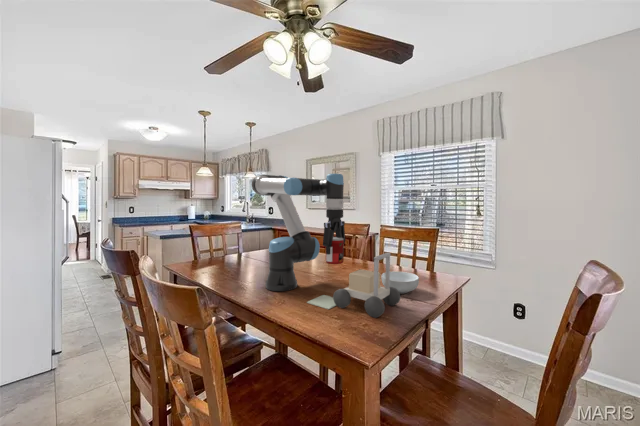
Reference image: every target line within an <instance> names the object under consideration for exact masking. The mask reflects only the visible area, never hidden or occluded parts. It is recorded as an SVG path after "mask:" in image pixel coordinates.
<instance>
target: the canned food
mask: <svg viewBox="0 0 640 426" xmlns="http://www.w3.org/2000/svg"><path fill="white" fill-rule="evenodd" d="M344 245H345V244H344V239H343V238H340V237H336V236H333V240H332V245H331V247H332V262H328V261H326V260H325V262H326V264H328V265H340V264H343V263H344Z"/></svg>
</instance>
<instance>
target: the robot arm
mask: <svg viewBox="0 0 640 426" xmlns="http://www.w3.org/2000/svg"><path fill="white" fill-rule="evenodd" d="M344 181H345V180H344V175H343V174H342V173H328V174H326V178H325V179H324V178H323V179H322V178H321V179H319V178H317V179H315V178H302V177H288V176H284V175H273V174H259V175H256V176H255V177H254V178H253V179H252V181H251V189H252V191H253V193H255V194H257V195H259V196H269V197H270V198H271V199H272V200H271V201H272V202H274V203H276V205H277V208H278V210H279V212H280V213H279V214H281V217H282V219H283V223H284V225H285V227H286V230H287V232H288V234H289V236H281V237H277V238H273V239H271V240H270V241H269V247H268V258H269V259H268V269H269V270H268V274H267V278H266V281H265V288H266V289H267V290H269V291H273V292H288V291H293V290H294V289H296V288H298V281H297V278H296V274H295V271H294V269H295V268H294V266H295V265H294V264H296V263H301V262H302V263H303V262H310V261H312V260H315V259H317V258H318V256H319V253H320V249H321V248H320V247H321V246H320V242H319V239H317V238H316V237H315V236H311V233H310V231H308V230H306V228H305V227H304V225H303V222H302V220H301V217H300V215H299V212H298V211H297V208H296V206H295V204H294V201H293V199H292V197H291V196H313V197H314V196H315V197H317V196H318V197H320V196H322V197H323V196H326V199H325V200H326V202H325V203H326V205H325V208H326V210H325V211H326V213H325V215H326V218H328V220H327V222H324V223H323V237H322V238H323V239H322V246H323V247H325V262H326V261H328V262H332V247H331V245H332V240H333V237H340V238H343V239H344V245H346V231H345V226H346V225H345V224H346V223H345V220H342V218H344V210H343V208H344V203H345V202H344V188H345V187H344V185H345V182H344ZM334 235H335V236H334Z"/></svg>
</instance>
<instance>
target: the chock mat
mask: <svg viewBox="0 0 640 426" xmlns="http://www.w3.org/2000/svg"><path fill="white" fill-rule="evenodd" d="M306 303H307V304H309V305H312V306H316V307H320V308H322V309H325V310H330V309H332V308H335V307H338V306H337V305H336V304H335V302H334V300H333V296H330V295H327V294H326V295H325V294H322V295H320V296H317V297H315V298H313V299H311V300H308V301H306Z"/></svg>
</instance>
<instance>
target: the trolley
mask: <svg viewBox="0 0 640 426" xmlns="http://www.w3.org/2000/svg"><path fill="white" fill-rule="evenodd" d="M391 256H392V255H391V252H385V253H382V254H380V255H377V256H374V257H373V270H367V269H362V268H361V269H358V270H355V271H352V272H350V273H349V274H348V286H346V287H345V288H339V289H336V290H335V291H334V292H333V295H332V297H333V300H334V302H335V304H336V305H337V306H336V307H338V308H340V309H344V308H346V307H349V305H350V304H351V301H352V298H355V299H359V300H363V301H365V302H364V310H365V312H366V313H367V315H369V317H372V318H374V319H375V318H379V317H380V316H382V315H383V314H384V313H385V310H386V307H385V304H386V305H388V306H390V307H391V306H396V305H397V304H399V302H400V301H401V293H399V291H398V290H397V289H396V288H394V287H390V272H391ZM383 259H385V273H386V282H385V286H381V272H379V267H380V265H379V261H381V260H383Z"/></svg>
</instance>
